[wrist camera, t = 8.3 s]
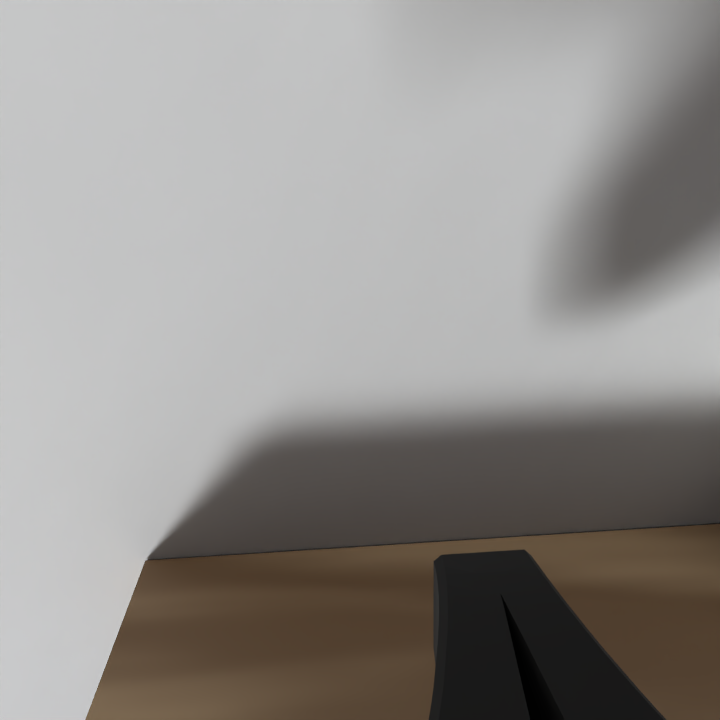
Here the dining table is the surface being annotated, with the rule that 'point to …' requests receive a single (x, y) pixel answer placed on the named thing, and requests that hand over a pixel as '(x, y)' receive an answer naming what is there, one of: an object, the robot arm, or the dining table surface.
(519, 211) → the dining table surface
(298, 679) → the brown wooden rack
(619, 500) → the dining table surface
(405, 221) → the dining table surface
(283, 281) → the dining table surface
